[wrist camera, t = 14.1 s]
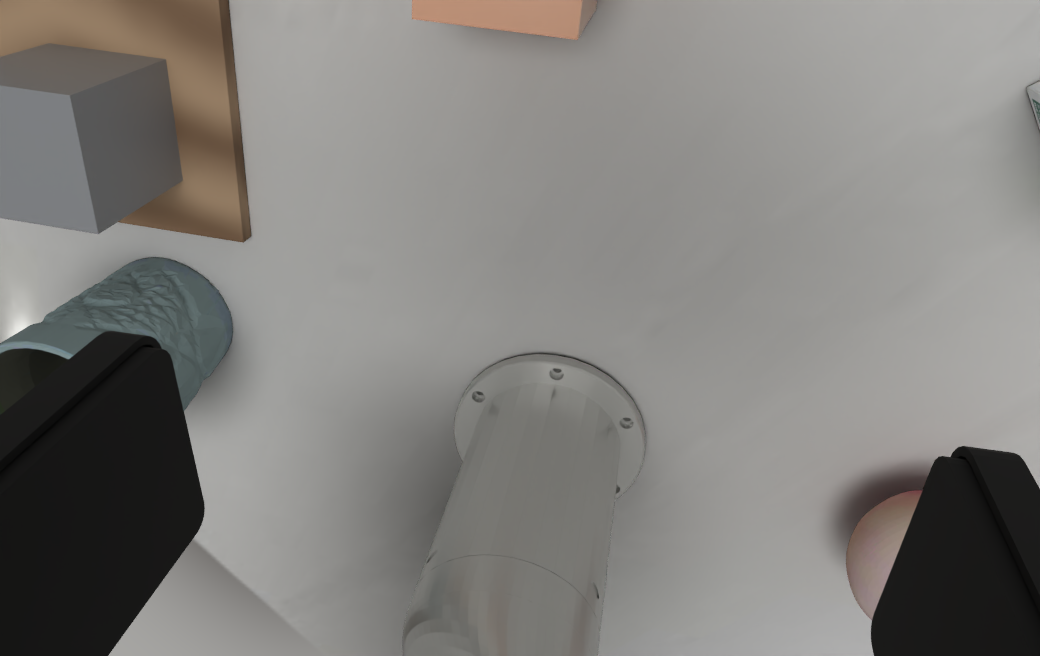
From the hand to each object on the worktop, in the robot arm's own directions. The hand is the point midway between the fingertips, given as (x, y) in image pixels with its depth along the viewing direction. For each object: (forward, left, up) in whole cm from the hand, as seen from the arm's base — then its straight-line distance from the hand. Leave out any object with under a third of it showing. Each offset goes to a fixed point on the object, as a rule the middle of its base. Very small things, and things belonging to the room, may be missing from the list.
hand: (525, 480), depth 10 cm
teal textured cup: (-22, +28, -35) cm, 50 cm away
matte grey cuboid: (-8, +29, -33) cm, 45 cm away
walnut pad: (-8, +29, -34) cm, 46 cm away
